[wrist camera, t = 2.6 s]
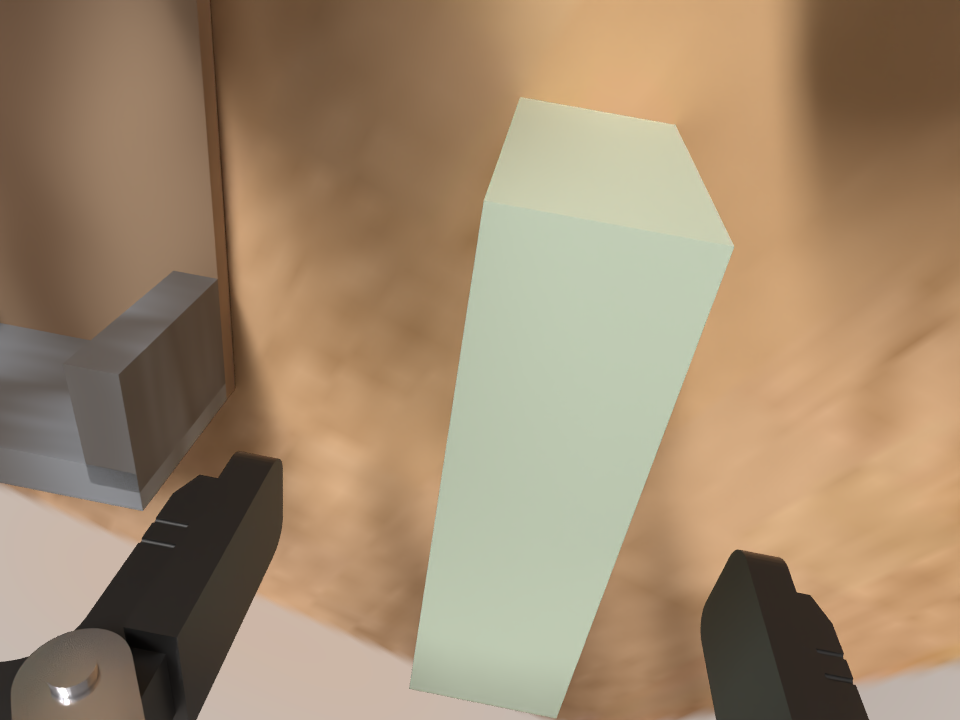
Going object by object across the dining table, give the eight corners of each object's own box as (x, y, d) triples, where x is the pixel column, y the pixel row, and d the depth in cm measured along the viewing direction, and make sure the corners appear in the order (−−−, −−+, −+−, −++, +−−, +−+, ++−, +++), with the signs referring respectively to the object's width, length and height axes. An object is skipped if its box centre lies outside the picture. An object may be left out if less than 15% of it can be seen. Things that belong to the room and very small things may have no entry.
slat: (674, 124, 15) (734, 246, 9) (562, 505, 22) (556, 718, 16) (520, 95, 15) (483, 200, 9) (455, 484, 22) (409, 689, 16)
